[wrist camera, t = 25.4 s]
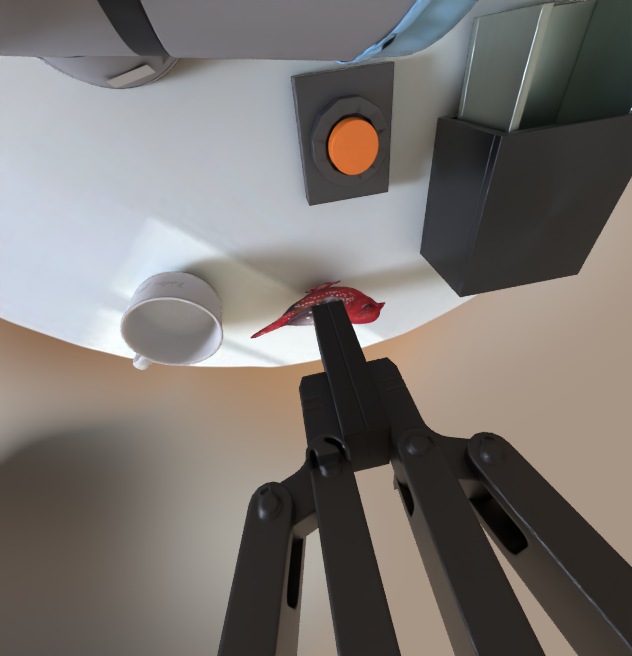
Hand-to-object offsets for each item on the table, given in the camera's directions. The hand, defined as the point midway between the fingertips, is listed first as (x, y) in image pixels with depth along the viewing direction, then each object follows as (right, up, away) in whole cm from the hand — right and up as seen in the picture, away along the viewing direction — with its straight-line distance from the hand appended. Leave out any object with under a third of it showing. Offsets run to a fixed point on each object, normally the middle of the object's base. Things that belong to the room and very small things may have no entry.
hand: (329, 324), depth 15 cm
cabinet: (+20, +17, +22) cm, 35 cm away
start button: (+3, +17, +14) cm, 22 cm away
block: (+2, +20, +17) cm, 26 cm away
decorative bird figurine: (-2, +5, +29) cm, 29 cm away
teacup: (-20, +3, +26) cm, 33 cm away
